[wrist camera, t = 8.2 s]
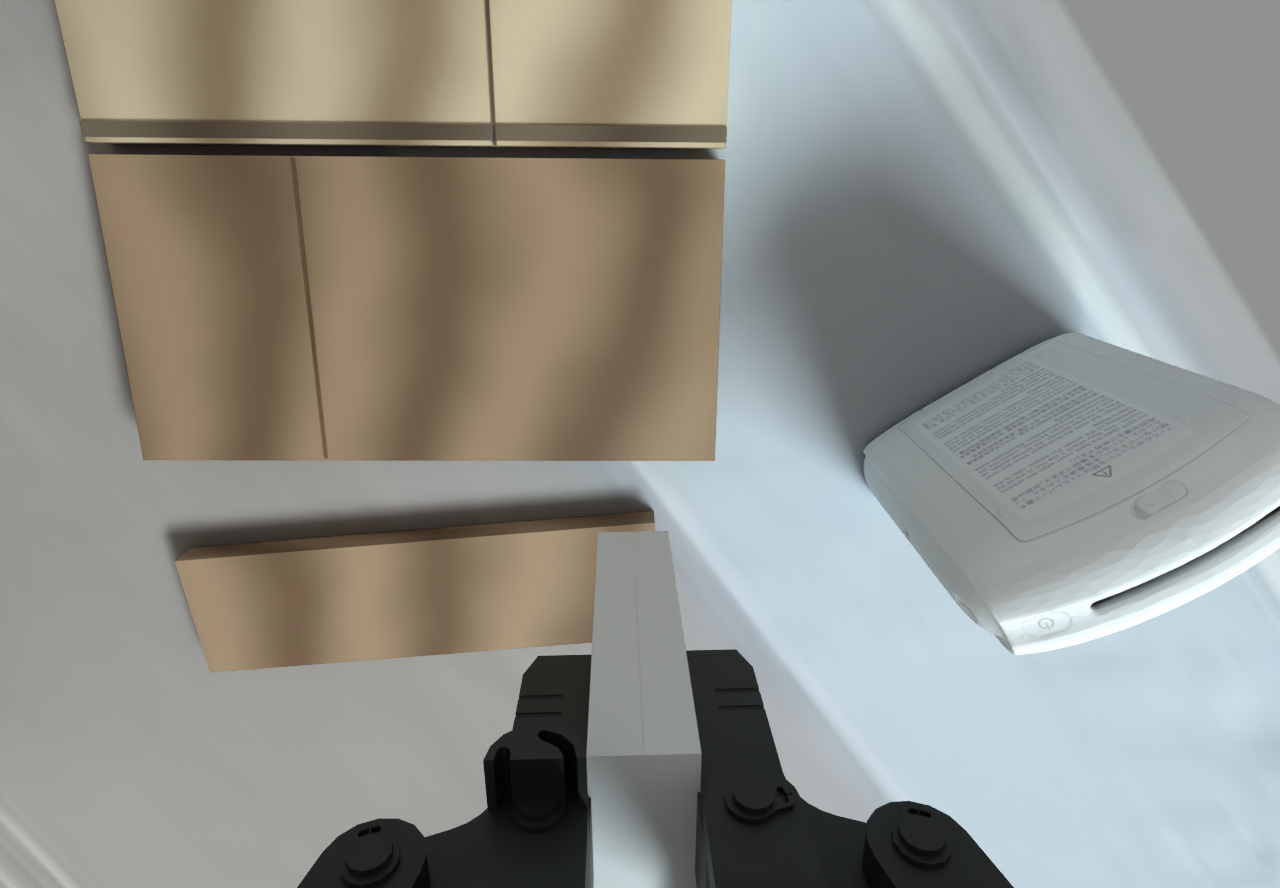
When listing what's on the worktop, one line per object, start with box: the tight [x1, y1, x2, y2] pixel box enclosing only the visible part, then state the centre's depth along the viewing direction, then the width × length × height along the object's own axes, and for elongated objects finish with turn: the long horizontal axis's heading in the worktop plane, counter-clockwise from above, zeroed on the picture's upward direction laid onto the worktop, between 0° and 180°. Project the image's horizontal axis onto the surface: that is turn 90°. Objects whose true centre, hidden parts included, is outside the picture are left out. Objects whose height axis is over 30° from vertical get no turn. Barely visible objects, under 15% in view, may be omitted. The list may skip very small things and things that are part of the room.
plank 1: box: [89, 154, 725, 461], centre depth 27 cm, size 22×11×1 cm, turn 90°
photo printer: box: [863, 333, 1280, 655], centre depth 25 cm, size 10×4×12 cm, turn 123°
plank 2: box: [174, 511, 655, 672], centre depth 32 cm, size 20×6×1 cm, turn 95°
